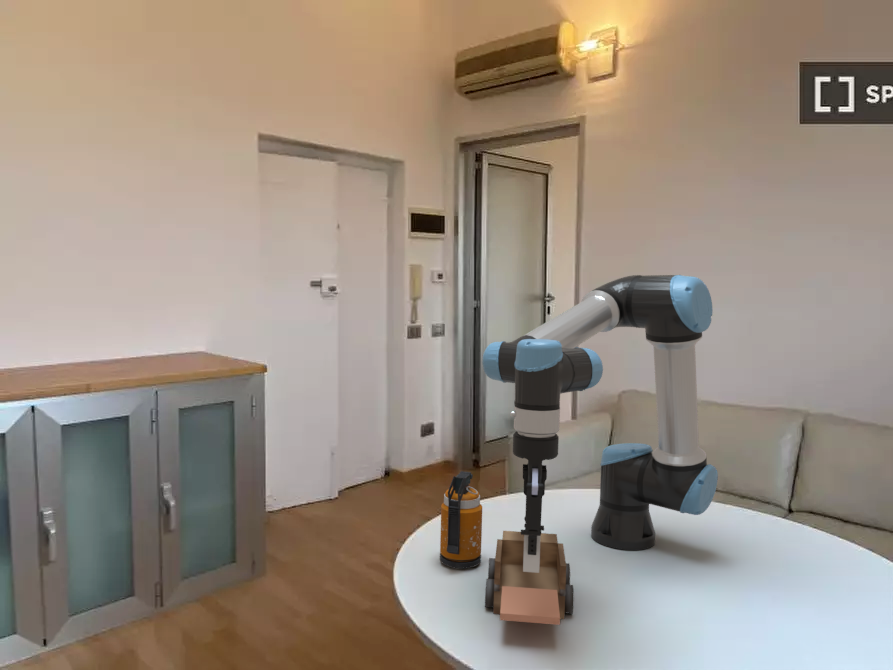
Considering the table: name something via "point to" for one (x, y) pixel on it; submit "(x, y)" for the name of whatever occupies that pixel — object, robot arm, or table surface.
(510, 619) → the panel
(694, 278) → the robot arm
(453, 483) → the canister
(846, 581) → the table surface
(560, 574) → the truck
